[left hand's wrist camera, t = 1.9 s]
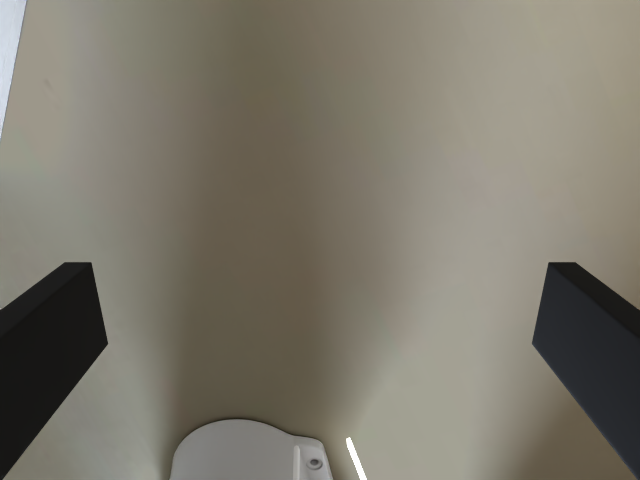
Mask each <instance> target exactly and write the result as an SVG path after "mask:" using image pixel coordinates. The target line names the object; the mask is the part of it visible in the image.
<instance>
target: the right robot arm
mask: <svg viewBox="0 0 640 480" xmlns="http://www.w3.org/2000/svg"><path fill="white" fill-rule="evenodd" d="M347 446H348V448H349V451H350V453H351V456H352V458H353V461H354V463H355V466H356V468H357V471H358V473H359V476H360V478H361V480H366V477H365V475H364V472H363V470H362V467H361V465H360V462H359V460H358V457H357V454H356V452H355V449H354V447H353V444H352V442H351V439H350V438H347ZM313 459H316V460H313ZM169 480H333V477H332V473H331V470H330V466H329V463H328V459H327V456H326V452H325V448H324V446H323V444H322V443H321V442H320V441H319V440H316V439H313V438H308V437H301V436H293V435H290V434H288V433H285V432H283V431H281V430H279V429H277V428H275V427H273V426H270V425H267V424H264V423H261V422H257V421H252V420H243V419H231V420H222V421H217V422H213V423H210V424H207V425H204V426H202V427H200V428H198V429H196V430H195V431H193V432H192V433H190V434H189V435H188V436H187V437H186V438H185V439H184V440H183V441H182V442H181V443H180V444H179V446H178V448H177V449H176V451H175V454H174V457H173V461H172V470H171V476H170V479H169Z"/></svg>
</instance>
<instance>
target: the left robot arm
mask: <svg viewBox="0 0 640 480" xmlns="http://www.w3.org/2000/svg"><path fill="white" fill-rule="evenodd" d="M107 345H108V341H107V336H106V331H105V326H104V321H103V317H102V312H101V307H100V302H99V297H98V292H97V287H96V283H95V278H94V273H93V268H92V263H91V262H64V263H63V264H62V265H60V266H59V267H58V268H56V269H55V270H54V271H52V272H51V273H50V274H48V275H47V276H46V277H44V278H43V279H42V280H40V281H39V282H38V283H36V284H35V285H34V286H32V287H31V288H30V289H28V290H27V291H26V292H24V293H23V294H22V295H20V296H19V297H18V298H16V299H15V300H14V301H12V302H11V303H10V304H8V305H7V306H6V307H4V308H3V309H2V310H0V480H3V478H4V477H5V476H6V474H7V473H8V472H9V471H10V469H11V468H12V467H13V465H14V464H15V463H16V462H17V460H18V459H19V458H20V456H21V455H22V454H23V453H24V451H25V450H26V449H27V447H28V446H29V445H30V444H31V442H32V441H33V440H34V438H35V437H36V436H37V435H38V433H39V432H40V431H41V429H42V428H43V427H44V426H45V424H46V423H47V422H48V420H49V419H50V418H51V417H52V415H53V414H54V413H55V411H56V410H57V409H58V408H59V406H60V405H61V404H62V402H63V401H64V400H65V399H66V397H67V396H68V395H69V393H70V392H71V391H72V390H73V388H74V387H75V386H76V384H77V383H78V382H79V381H80V379H81V378H82V377H83V375H84V374H85V373H86V372H87V370H88V369H89V368H90V366H91V365H92V364H93V363H94V361H95V360H96V359H97V357H98V356H99V355H100V354H101V352H102V351H103V350H104V348H105V347H106V346H107ZM532 345H533V346H534V347H535V348H536V350H537V351H538V352H539V354H540V355H541V356H542V357H543V359H544V360H545V361H546V363H547V364H548V365H549V366H550V368H551V369H552V370H553V372H554V373H555V374H556V375H557V377H558V378H559V379H560V381H561V382H562V383H563V384H564V386H565V387H566V388H567V390H568V391H569V392H570V393H571V395H572V396H573V397H574V399H575V400H576V401H577V402H578V404H579V405H580V406H581V408H582V409H583V410H584V411H585V413H586V414H587V415H588V417H589V418H590V419H591V420H592V422H593V423H594V424H595V426H596V427H597V428H598V429H599V431H600V432H601V433H602V435H603V436H604V437H605V438H606V440H607V441H608V442H609V444H610V445H611V446H612V447H613V449H614V450H615V451H616V453H617V454H618V455H619V456H620V458H621V459H622V460H623V462H624V463H625V464H626V465H627V467H628V468H629V469H630V471H631V472H632V473H633V474H634V476H635V477H636V478H637V480H640V310H638V309H637V308H636V307H634V306H633V305H632V304H630V303H629V302H628V301H626V300H625V299H624V298H622V297H621V296H620V295H618V294H617V293H616V292H614V291H613V290H612V289H610V288H609V287H608V286H606V285H605V284H604V283H602V282H601V281H600V280H598V279H597V278H596V277H594V276H593V275H592V274H590V273H589V272H588V271H586V270H585V269H584V268H582V267H581V266H580V265H578V264H577V263H576V262H549V263H548V268H547V273H546V278H545V283H544V287H543V292H542V297H541V302H540V307H539V312H538V317H537V321H536V326H535V331H534V336H533V341H532Z"/></svg>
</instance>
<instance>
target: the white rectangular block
mask: <svg viewBox="0 0 640 480" xmlns="http://www.w3.org/2000/svg"><path fill="white" fill-rule="evenodd" d="M25 6H26V0H0V138H1V133H2V127H3V122H4V117H5V112H6V106H7V101H8V96H9V90H10V85H11V80H12V74H13V69H14V64H15V59H16V53H17V48H18V43H19V37H20V32H21V27H22V21H23V16H24V11H25Z"/></svg>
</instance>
